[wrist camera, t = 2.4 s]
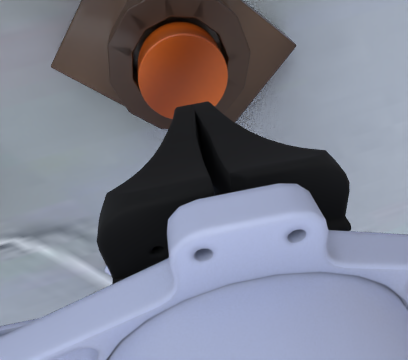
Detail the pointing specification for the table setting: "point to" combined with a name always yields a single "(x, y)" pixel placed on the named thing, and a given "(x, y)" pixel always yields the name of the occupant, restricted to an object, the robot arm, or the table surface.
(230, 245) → the robot arm
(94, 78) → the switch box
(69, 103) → the table surface
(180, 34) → the lamp button
